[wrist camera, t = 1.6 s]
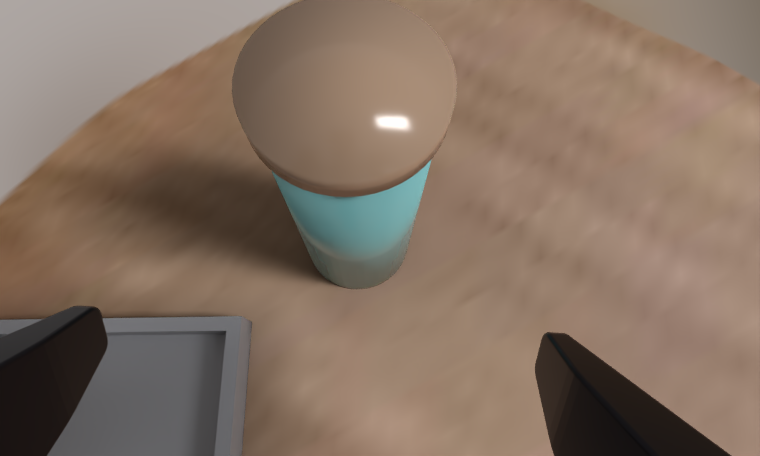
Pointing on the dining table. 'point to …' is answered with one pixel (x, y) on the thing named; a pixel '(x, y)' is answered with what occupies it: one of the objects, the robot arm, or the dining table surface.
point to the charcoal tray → (162, 389)
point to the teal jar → (347, 125)
